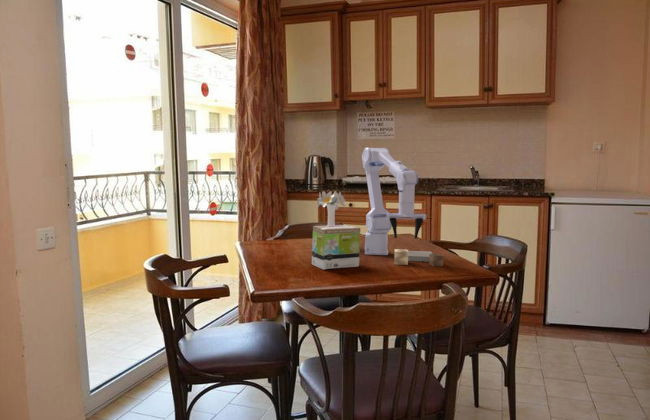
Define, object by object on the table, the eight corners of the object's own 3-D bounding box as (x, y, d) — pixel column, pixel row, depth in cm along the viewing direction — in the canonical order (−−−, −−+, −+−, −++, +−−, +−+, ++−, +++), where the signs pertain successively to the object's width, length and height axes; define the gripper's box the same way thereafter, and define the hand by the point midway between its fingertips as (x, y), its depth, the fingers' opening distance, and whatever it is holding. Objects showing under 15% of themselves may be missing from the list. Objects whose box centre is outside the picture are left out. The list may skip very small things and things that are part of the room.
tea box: (323, 270, 178) (324, 229, 177) (311, 265, 187) (311, 225, 185) (360, 266, 185) (360, 226, 184) (346, 261, 194) (347, 223, 192)
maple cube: (394, 264, 190) (394, 251, 189) (394, 261, 195) (394, 249, 194) (407, 265, 189) (408, 251, 189) (407, 262, 194) (407, 249, 193)
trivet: (404, 260, 196) (404, 255, 196) (404, 255, 207) (404, 250, 207) (433, 261, 195) (433, 256, 194) (431, 256, 206) (431, 251, 205)
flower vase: (342, 242, 236) (343, 189, 233) (346, 250, 218) (347, 192, 215) (314, 242, 235) (315, 189, 233) (316, 250, 217) (316, 192, 214)
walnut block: (432, 266, 187) (433, 255, 187) (429, 264, 191) (429, 253, 190) (443, 266, 187) (443, 255, 187) (439, 264, 191) (439, 253, 191)
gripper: (388, 203, 187) (387, 239, 188) (427, 203, 186) (426, 240, 188) (386, 201, 194) (385, 236, 195) (424, 202, 193) (423, 237, 195)
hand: (405, 238), depth 192 cm, fingers open, 7 cm apart
